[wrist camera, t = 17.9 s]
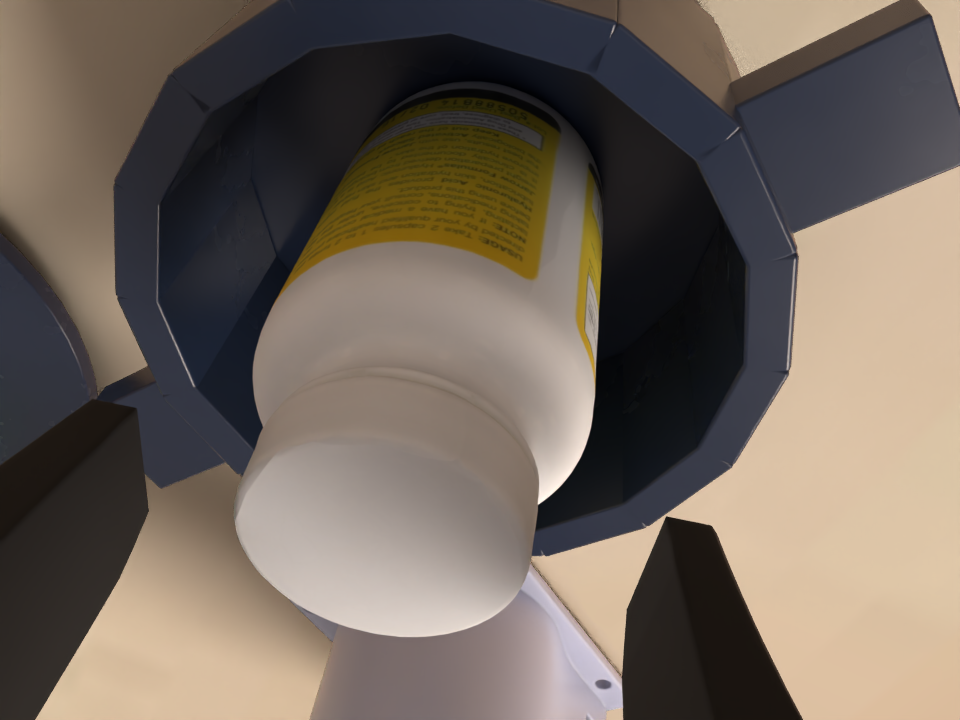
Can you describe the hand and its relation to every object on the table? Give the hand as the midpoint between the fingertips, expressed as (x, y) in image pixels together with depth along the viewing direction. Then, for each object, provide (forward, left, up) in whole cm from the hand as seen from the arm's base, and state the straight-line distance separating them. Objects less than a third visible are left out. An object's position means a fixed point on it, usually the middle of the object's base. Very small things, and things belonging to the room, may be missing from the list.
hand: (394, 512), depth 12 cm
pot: (0, 0, -10) cm, 10 cm away
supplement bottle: (0, 0, -9) cm, 9 cm away
